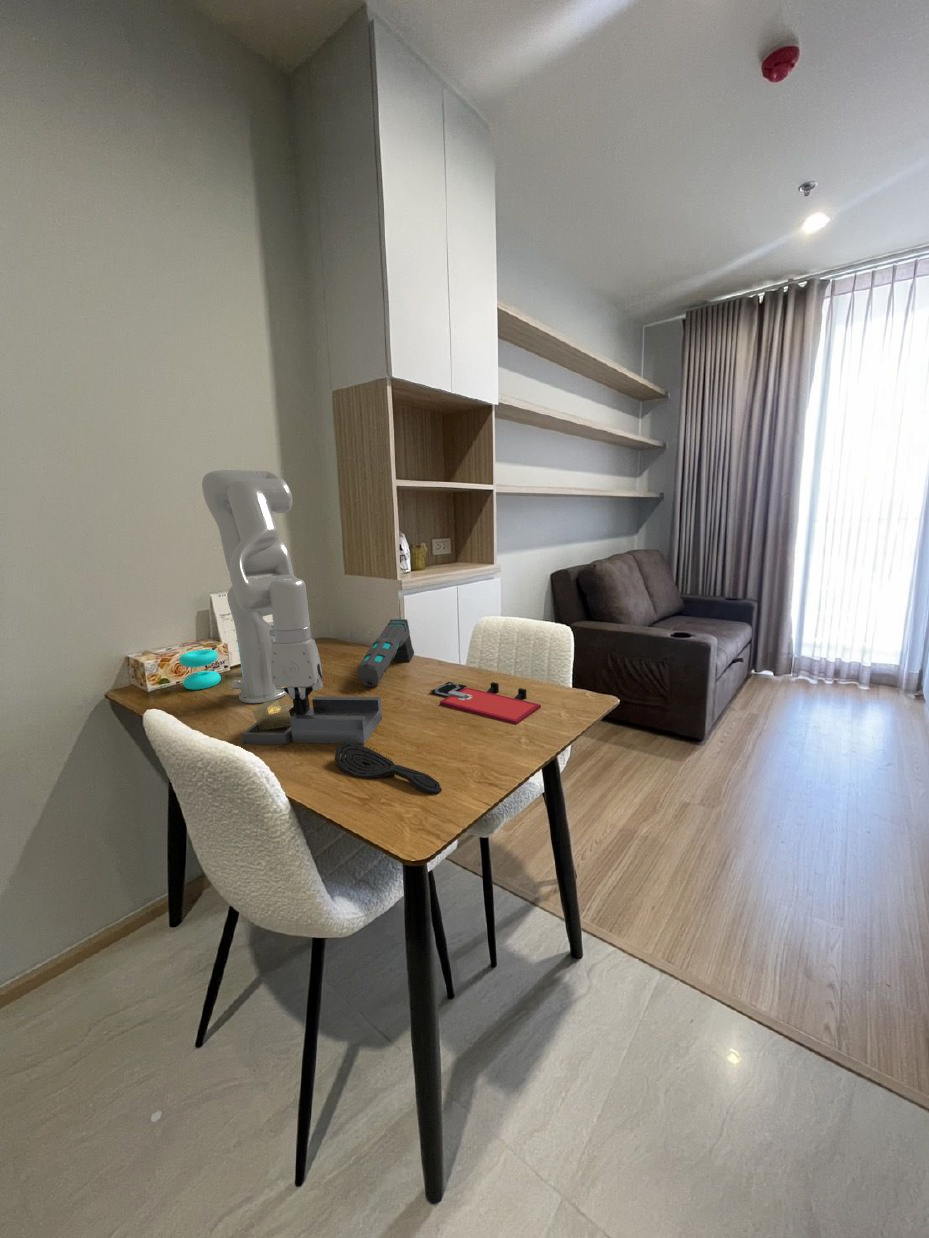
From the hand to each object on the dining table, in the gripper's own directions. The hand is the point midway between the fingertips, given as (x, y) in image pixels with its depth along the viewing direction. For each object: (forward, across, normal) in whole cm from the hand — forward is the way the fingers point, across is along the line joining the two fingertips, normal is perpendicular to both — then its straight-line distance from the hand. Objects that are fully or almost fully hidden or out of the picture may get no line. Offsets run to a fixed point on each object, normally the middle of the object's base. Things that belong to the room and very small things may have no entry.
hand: (302, 713), depth 112 cm
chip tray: (+4, -6, 0) cm, 7 cm away
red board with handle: (+5, +39, +19) cm, 43 cm away
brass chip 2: (+2, -4, 0) cm, 4 cm away
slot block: (+4, +8, 0) cm, 9 cm away
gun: (+4, +8, +42) cm, 43 cm away
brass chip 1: (0, -6, 0) cm, 7 cm away
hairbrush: (+5, +25, -18) cm, 31 cm away
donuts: (+4, -46, +29) cm, 54 cm away
